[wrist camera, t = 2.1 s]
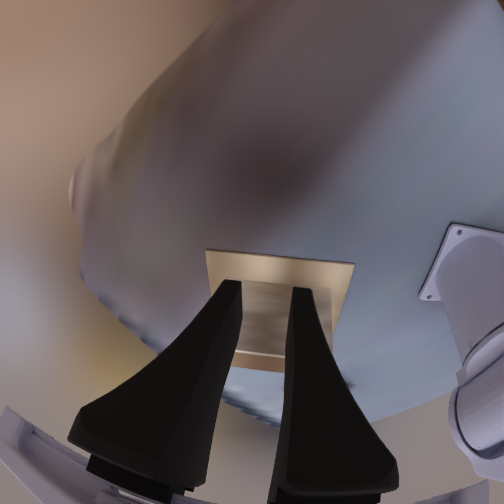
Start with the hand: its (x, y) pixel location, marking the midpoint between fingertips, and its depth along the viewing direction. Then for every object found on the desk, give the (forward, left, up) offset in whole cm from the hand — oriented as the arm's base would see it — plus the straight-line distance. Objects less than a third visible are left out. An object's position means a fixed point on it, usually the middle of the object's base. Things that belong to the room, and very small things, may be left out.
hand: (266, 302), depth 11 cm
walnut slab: (0, +10, -10) cm, 14 cm away
